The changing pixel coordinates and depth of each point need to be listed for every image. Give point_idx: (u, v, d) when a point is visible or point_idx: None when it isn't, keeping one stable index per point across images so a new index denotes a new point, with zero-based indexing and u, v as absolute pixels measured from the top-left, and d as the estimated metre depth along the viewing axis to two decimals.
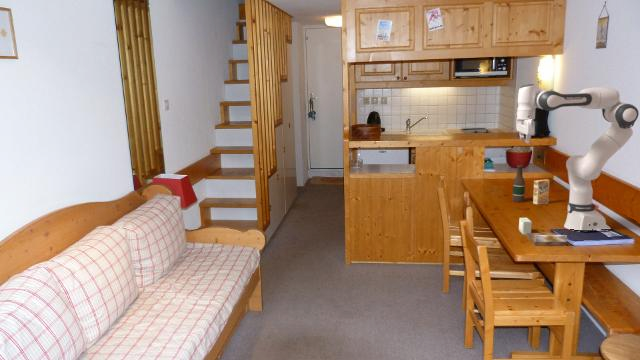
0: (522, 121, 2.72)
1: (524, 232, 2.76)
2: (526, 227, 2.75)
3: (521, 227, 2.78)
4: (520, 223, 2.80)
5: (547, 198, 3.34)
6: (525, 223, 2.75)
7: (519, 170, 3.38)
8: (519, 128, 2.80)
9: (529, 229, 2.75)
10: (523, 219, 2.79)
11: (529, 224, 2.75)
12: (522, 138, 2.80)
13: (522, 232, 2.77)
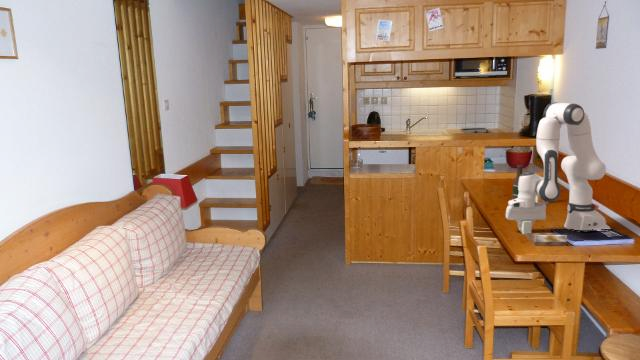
0: (531, 208, 2.74)
1: (524, 232, 2.76)
2: (526, 227, 2.75)
3: (521, 227, 2.78)
4: (520, 223, 2.80)
5: None
6: (525, 223, 2.75)
7: (519, 170, 3.38)
8: (517, 216, 2.76)
9: (529, 229, 2.75)
10: None
11: (529, 224, 2.75)
12: None
13: (522, 232, 2.77)
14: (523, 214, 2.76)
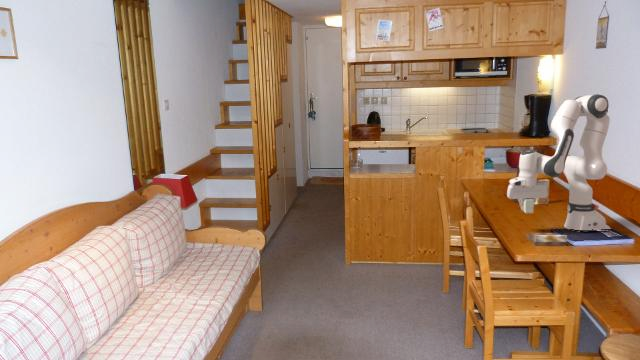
0: (533, 186, 2.72)
1: (526, 211, 2.73)
2: (528, 205, 2.73)
3: (523, 206, 2.76)
4: (522, 202, 2.77)
5: (547, 198, 3.34)
6: (527, 201, 2.72)
7: (519, 170, 3.38)
8: (519, 195, 2.74)
9: (531, 207, 2.73)
10: None
11: (531, 202, 2.72)
12: None
13: (524, 211, 2.75)
14: (525, 193, 2.74)
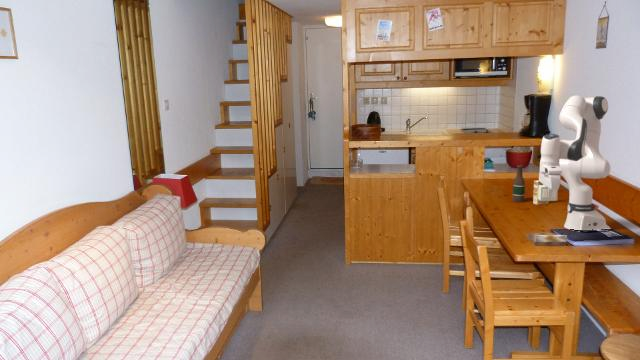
0: None
1: None
2: None
3: (552, 194, 2.58)
4: (547, 191, 2.57)
5: None
6: None
7: (519, 170, 3.38)
8: None
9: None
10: None
11: None
12: None
13: (554, 199, 2.58)
14: None
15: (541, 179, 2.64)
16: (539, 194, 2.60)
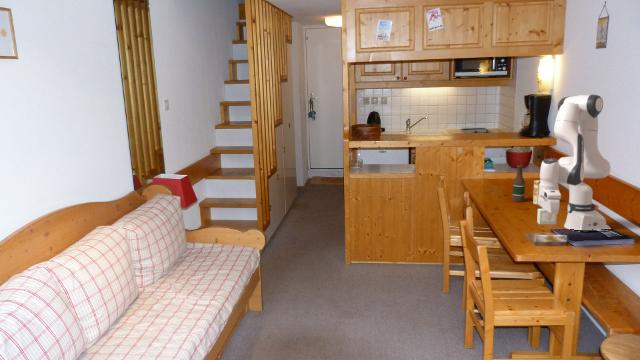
0: None
1: None
2: None
3: (551, 218, 2.60)
4: None
5: None
6: None
7: (519, 170, 3.38)
8: None
9: None
10: None
11: None
12: None
13: (553, 222, 2.60)
14: None
15: (540, 203, 2.66)
16: (538, 217, 2.62)
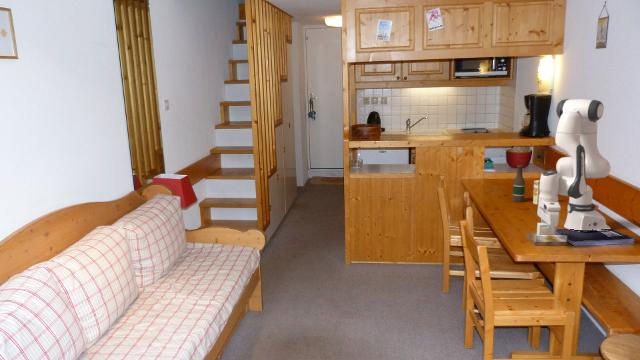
0: None
1: None
2: None
3: (550, 232, 2.61)
4: (546, 229, 2.61)
5: None
6: None
7: (519, 170, 3.38)
8: None
9: None
10: (546, 224, 2.62)
11: None
12: None
13: None
14: None
15: (539, 214, 2.68)
16: (538, 232, 2.64)
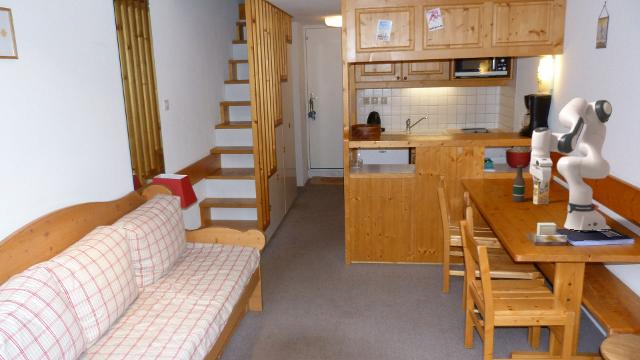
0: None
1: None
2: None
3: (550, 232, 2.61)
4: (546, 229, 2.61)
5: (547, 198, 3.34)
6: None
7: (519, 170, 3.38)
8: None
9: None
10: (546, 224, 2.62)
11: None
12: None
13: None
14: None
15: (532, 171, 2.71)
16: (538, 232, 2.64)
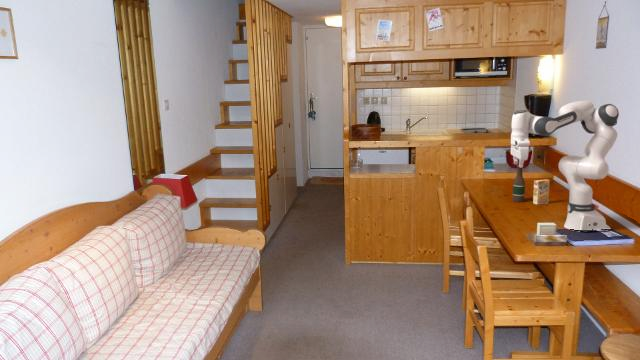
0: None
1: None
2: None
3: (550, 232, 2.61)
4: (546, 229, 2.61)
5: (547, 198, 3.34)
6: None
7: (519, 170, 3.38)
8: None
9: None
10: (546, 224, 2.62)
11: None
12: None
13: None
14: None
15: (512, 152, 2.89)
16: (538, 232, 2.64)
